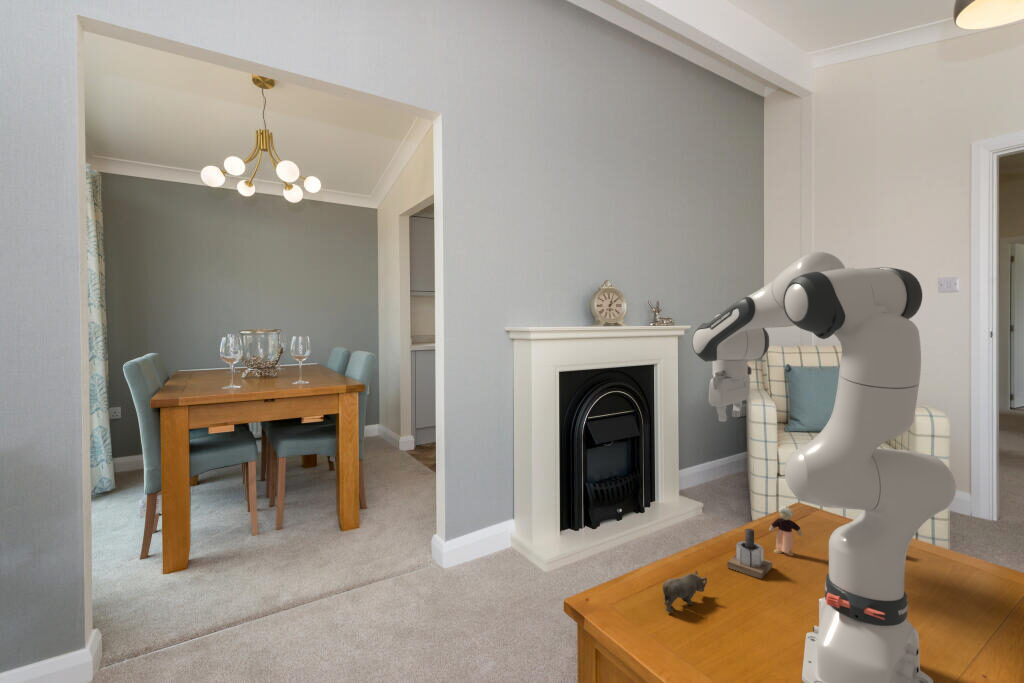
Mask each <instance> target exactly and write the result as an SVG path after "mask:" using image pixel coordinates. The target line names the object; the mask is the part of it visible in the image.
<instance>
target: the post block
mask: <svg viewBox="0 0 1024 683" xmlns="http://www.w3.org/2000/svg"><path fill="white" fill-rule="evenodd" d="M744 531H745V532H744V533H745V534H744V535H745V536H744V538H745V540H744V541H745V548H747V549H750V550H754V543H755V530H754V529H752V528H746V529H745V530H744ZM763 560H764V564H763V565H762V566H761V567H748V566H744V565H742V564H740V563H739V562H738V561H737V560H736V554H735V555H734V556H732V557H731V558H730V559H729V560H728V561H727V567H728V568H727V567H726V568H727V569H729V568H730V570H732V569H733V571H735V570H736V572H738V571H739V573H741V574H742V573H743V574H744V575H748V576H750V577H754V578H757V579H760V580H762V579H763V578H764V577H765V576H766V575H767V574H768V573H769V572H770V571H771V569H773V561H772V560H768V559H765V558H763Z"/></svg>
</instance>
